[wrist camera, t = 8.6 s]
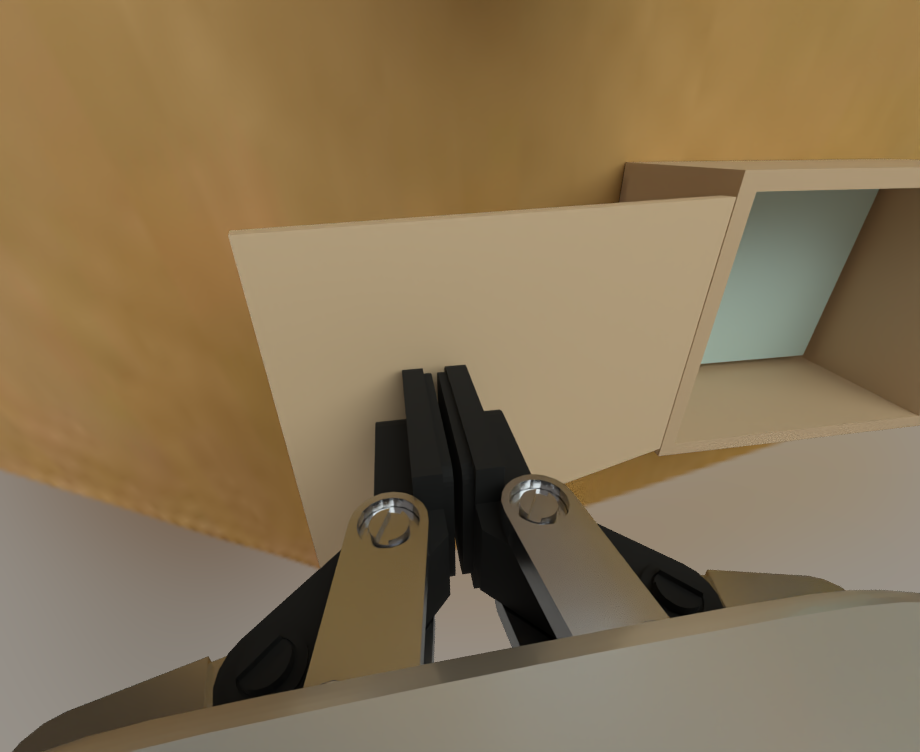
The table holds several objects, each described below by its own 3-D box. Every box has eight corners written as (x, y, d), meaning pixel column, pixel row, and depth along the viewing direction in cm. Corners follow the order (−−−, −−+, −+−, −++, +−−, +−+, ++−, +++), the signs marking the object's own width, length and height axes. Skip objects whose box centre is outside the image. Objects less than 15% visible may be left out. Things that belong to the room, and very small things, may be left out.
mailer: (884, 159, 20) (1101, 164, 14) (794, 358, 25) (922, 425, 19) (625, 162, 18) (745, 169, 12) (588, 376, 23) (658, 456, 17)
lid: (228, 235, 7) (229, 230, 8) (321, 572, 12) (318, 557, 12) (736, 196, 12) (718, 195, 13) (659, 448, 17) (649, 440, 17)
